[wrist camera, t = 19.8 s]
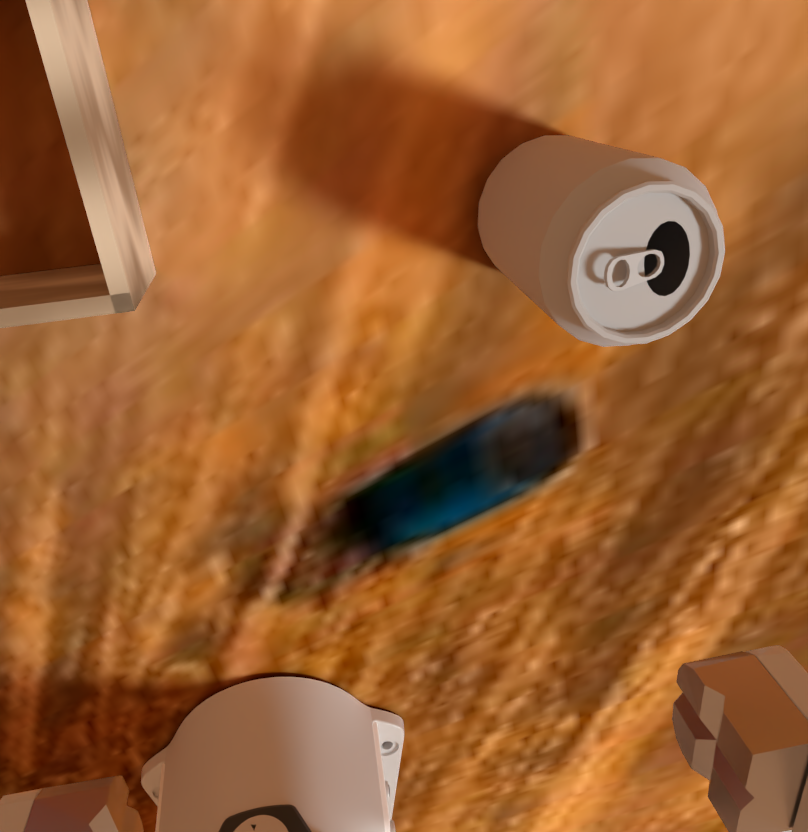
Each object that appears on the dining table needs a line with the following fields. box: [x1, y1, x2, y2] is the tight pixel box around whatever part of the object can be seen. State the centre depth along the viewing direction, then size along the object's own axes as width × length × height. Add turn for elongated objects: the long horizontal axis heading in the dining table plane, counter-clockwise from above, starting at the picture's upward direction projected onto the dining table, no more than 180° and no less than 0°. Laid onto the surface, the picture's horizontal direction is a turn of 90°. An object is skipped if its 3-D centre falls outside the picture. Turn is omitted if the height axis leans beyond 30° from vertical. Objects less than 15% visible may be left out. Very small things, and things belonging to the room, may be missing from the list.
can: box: [478, 135, 725, 347], centre depth 31 cm, size 8×8×12 cm
